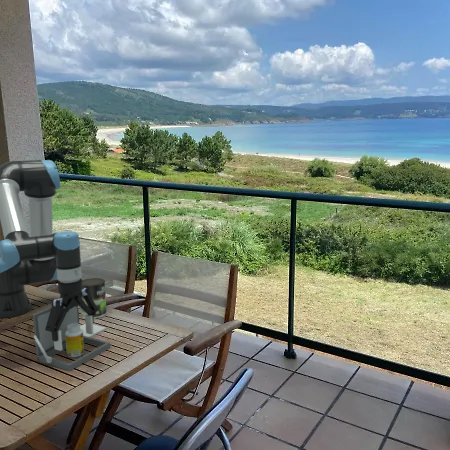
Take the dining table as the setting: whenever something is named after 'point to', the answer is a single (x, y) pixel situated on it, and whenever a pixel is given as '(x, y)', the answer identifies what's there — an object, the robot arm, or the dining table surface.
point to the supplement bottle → (74, 340)
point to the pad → (95, 329)
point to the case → (47, 344)
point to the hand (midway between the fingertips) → (74, 341)
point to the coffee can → (96, 295)
